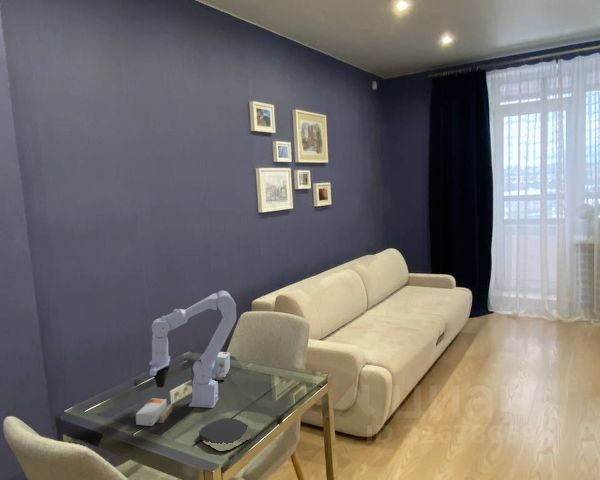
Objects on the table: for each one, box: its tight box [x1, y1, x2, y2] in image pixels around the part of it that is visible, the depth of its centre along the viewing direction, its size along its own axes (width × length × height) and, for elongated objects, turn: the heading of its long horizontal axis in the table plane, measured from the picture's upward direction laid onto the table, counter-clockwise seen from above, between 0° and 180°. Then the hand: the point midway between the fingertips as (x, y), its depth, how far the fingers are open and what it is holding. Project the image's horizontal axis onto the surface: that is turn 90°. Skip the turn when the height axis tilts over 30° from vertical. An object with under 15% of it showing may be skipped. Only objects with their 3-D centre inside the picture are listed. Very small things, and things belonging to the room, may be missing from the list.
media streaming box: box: [198, 417, 249, 444], centre depth 146 cm, size 15×15×3 cm
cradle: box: [155, 404, 173, 424], centre depth 159 cm, size 10×9×2 cm
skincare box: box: [135, 397, 168, 427], centre depth 157 cm, size 6×4×12 cm
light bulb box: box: [211, 351, 231, 378], centre depth 193 cm, size 11×7×11 cm, turn 81°
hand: (160, 386), depth 164 cm, fingers closed
